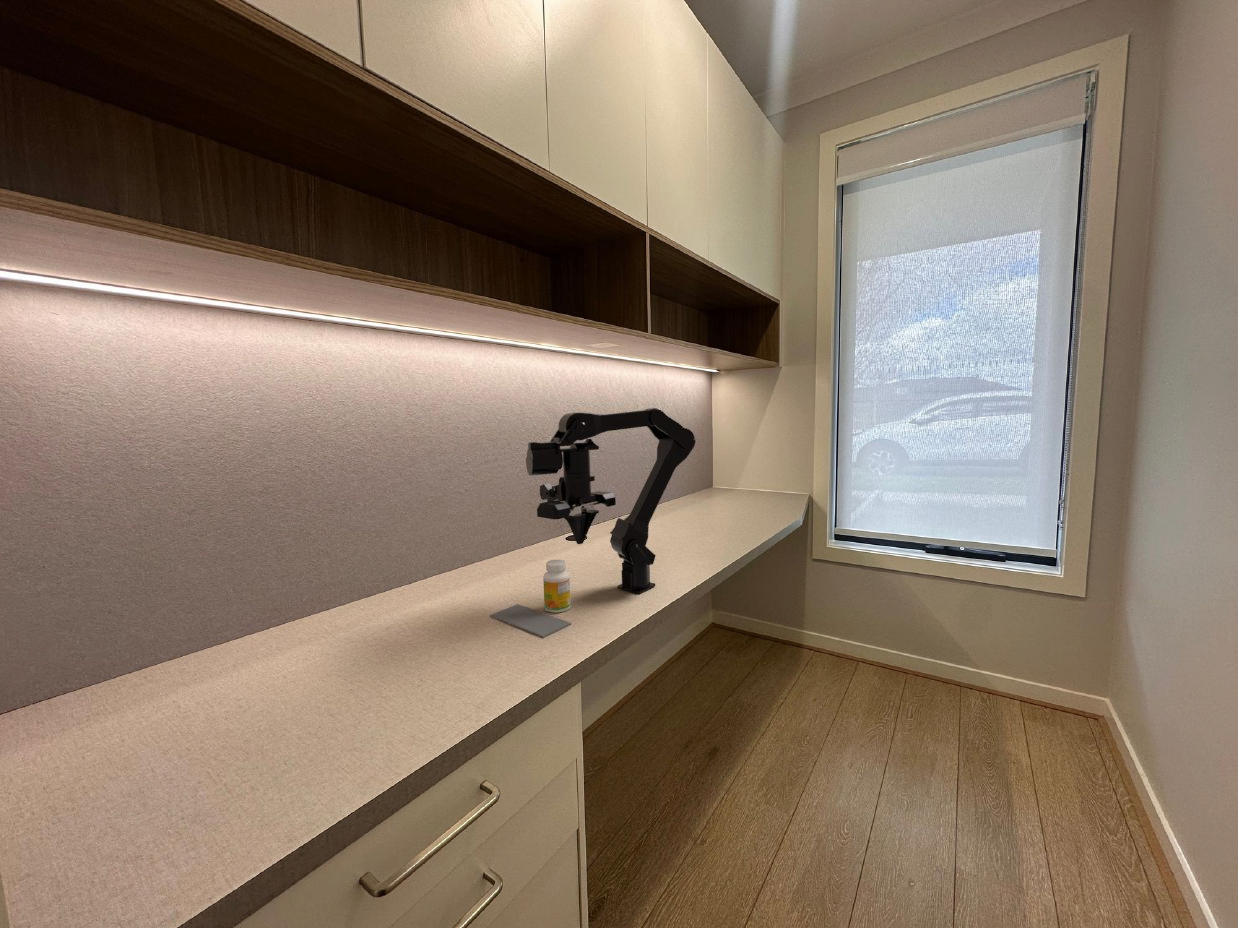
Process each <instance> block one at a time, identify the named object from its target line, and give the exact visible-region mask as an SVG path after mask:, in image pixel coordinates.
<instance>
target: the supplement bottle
mask: <svg viewBox="0 0 1238 928" xmlns="http://www.w3.org/2000/svg"><path fill="white" fill-rule="evenodd" d="M545 565H546V566H545V568H546V572H545V573H544V574H543V576H542V577H543V602H544V603H543V604H544V610H545V611H546V612H547V613H551V614H552V613H553V614H554V613H555V614H556V613H557V614H558V613H559V614H560V613H563V612H566V611H568V610H570V608H571V580H570V578H571V577H570V576H571V575H570V573H569V572H568V571H567V570H566V569H567V561H565V560H563V559H550V560H548V561H546V562H545Z"/></svg>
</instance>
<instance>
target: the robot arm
mask: <svg viewBox="0 0 1238 928" xmlns="http://www.w3.org/2000/svg"><path fill="white" fill-rule="evenodd" d="M643 427H647V428H648V429H649V431H650V433H651V434H652V435H653V437H654V438H656V440H658V444H657V447H656V461H655V463H654V464H653V466H652V469H651V471H650V473H649V474H648V476H647V479H646V481H645V483H644V485H643V487H642V489H641V491H640V494H638V497H637V499H636V501H635V504H634V506H633V507H632V510H631V512H630V514H628V516H627V517H625V518H624V519H622V518H620V517H618V518H617V519H616V522H615V525H614V527H613V528H612V530H611V531H610V532H609V534H610V540H609V542H610V545H611V546H610V547H611V549H613V551H615V552H616V553H617V555H618V557H619V558H620V559H621V560H622V563H621V583H620V584H618V585H617V587H616V588H617V589H621V590H624V591H627V592H630V593H635V594H641V593H644V592H646V591H648V590H650V589H652V588H653V587H655V586H656V583H654V582H651V578H650V577H651V576H650V574H651V572H650V570H651V569H650V568H651V567H650V566H652V565H654V563H655V560H656V554H655V552H653V551H651V550H650V549H649V548H648V547H647V543H648V539H649V525H650V522H651V520H652V518H653V516H654V514H655V512H656V510H657V507H658V506H659V503H660V501H661V499H662V497H663V495H664V494H665V491H666V489H667V486H668V485H669V482H670V481H671V478H672V476H673V475H674V473H675V470H676V469H677V467H678V466H680V465H681V464H682V463H684V461H685V460H686V459H688V456H689V455H690V454H691V452H692V451H693V450H694V448H695V446H696V441H697V439H696V438H695V434H694V433H693V431H691V430H690V429H689V428H685V427H684V426H683V425H682V424H680V423H679V422H677V421H676V420H674V419H673V418H671V417H670V416H669V415H667V414H666V413H665V412H664V411H663V410H661V409H660V408H659V407H657V408H656V407H652V408H651V407H650V408H646V409H642V410H634V411H633V410H632V411H625V412H615V413H607V414H598V413H591V412H589V413H588V412H569V413H565V414H564V415H562V416H561V418H560V419H559V422H558V429H557V431H556V432H555V433H554V435H553V436H552V438H551V440H549V441H548V442H547V441H546V442H537V441H536V442H535V441H532V442H531V441H530V442H528V443H527V451H526V457H525V464H526V465H525V466H526V470H527V471H526V472H527V473H528V475H529V476H530V477H531V476H543V475H556V474H558V472H559V470H562V468H563V470H562V471H563V476H560V477H559V478H558V484H557V485H553V486H552V484H551V483H543V484H541V485H539V497H540V499H541V500H542V501H543V502H540V503H539V504H538V505H537V507H536V516H537V518H543V519H550V520H560V519H565V521H566V522H567V524H568V526H569V527H570V531H571V532H572V535H573V537H574V540H575V543H576V544H577V545H582V544H584V542H585V539H586V538H587V535H588V533H589V530H590V528H591V527H592V526H591V525H592V524H593V522H594V521H595V520H594V519H595V518H596V517H597V514H599V513H600V510H597V509H595V506H597V505H600V504H602V505H604V506H605V507H606V508H608V507H613V506H616V501H617V499H616V496H615V494H614V493H613V492H608V491H600V490H599V491H597V490H596V491H593V492H592V485H591V484H592V482H595V481H596V480H595V479H596V477H595V475H591V457H590V455H591V453H590V451H598V450H600V446H599V445H597V444H596V443H595V442H594V441H593V439H592V438H594V437H596V436H599V435H601V434H603V433H606V432H612V431H620V430H628V429H636V428H643ZM584 440H585V441H584ZM577 441H584V442H577ZM561 447H564V448H561ZM565 447H566V448H565ZM545 500H546V501H545Z"/></svg>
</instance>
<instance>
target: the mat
mask: <svg viewBox="0 0 1238 928" xmlns="http://www.w3.org/2000/svg"><path fill="white" fill-rule="evenodd" d="M489 617H490V618H493V619H495V620H497V621H500V622H503V623H505V624H508V625H510V626H513V627H515V628H518V629H520V630H523V631H524V632H525V631H526V632H527V633H530V634H533V635H535V636H538V637H540V638H543V639H545V638H546V637H549V636H551V635H552V634H554V633H557V632H558V631H559V632H560V631H561V630H563V629H565V628H567V627H569V626H571V625H572V622H570V621H567V620H564V619H561V618H559V617H555V616H553V615H550V614H548V613H544V612H541V611H538V610H535V609H532V608H530V607H528V606H524V605H522V604H518V603H517V604H514V605H511V606H509V607H507V608H504V609H501V610H499V611H496V612H495V613H491V614H489Z"/></svg>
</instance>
